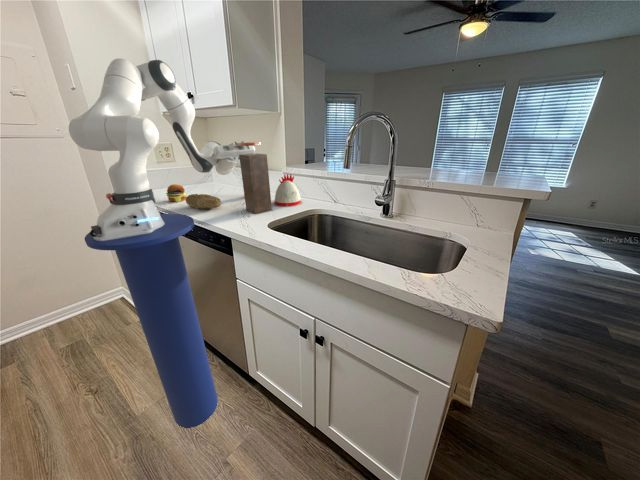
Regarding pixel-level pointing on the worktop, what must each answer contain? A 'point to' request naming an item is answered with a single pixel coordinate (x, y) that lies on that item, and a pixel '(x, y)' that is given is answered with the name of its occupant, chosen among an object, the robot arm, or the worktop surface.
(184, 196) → the cheeseburger
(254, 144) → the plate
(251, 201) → the tall brown brick
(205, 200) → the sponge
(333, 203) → the worktop surface
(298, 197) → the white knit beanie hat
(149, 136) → the robot arm
